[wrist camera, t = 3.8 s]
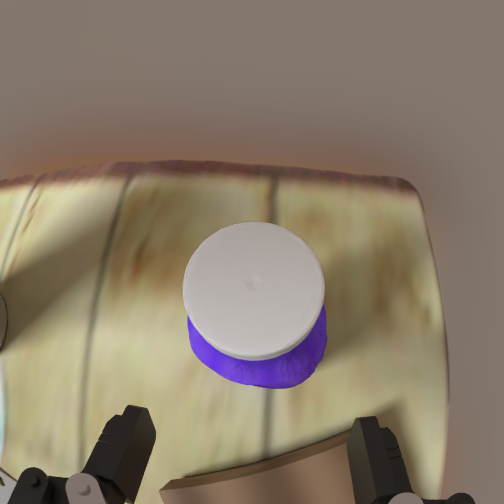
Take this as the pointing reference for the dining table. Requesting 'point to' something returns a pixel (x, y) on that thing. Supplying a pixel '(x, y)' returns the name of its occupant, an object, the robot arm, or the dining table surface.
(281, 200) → the dining table surface
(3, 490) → the kitchen cleaver
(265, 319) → the bottle
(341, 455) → the walnut stand
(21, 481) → the robot arm
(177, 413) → the dining table surface
